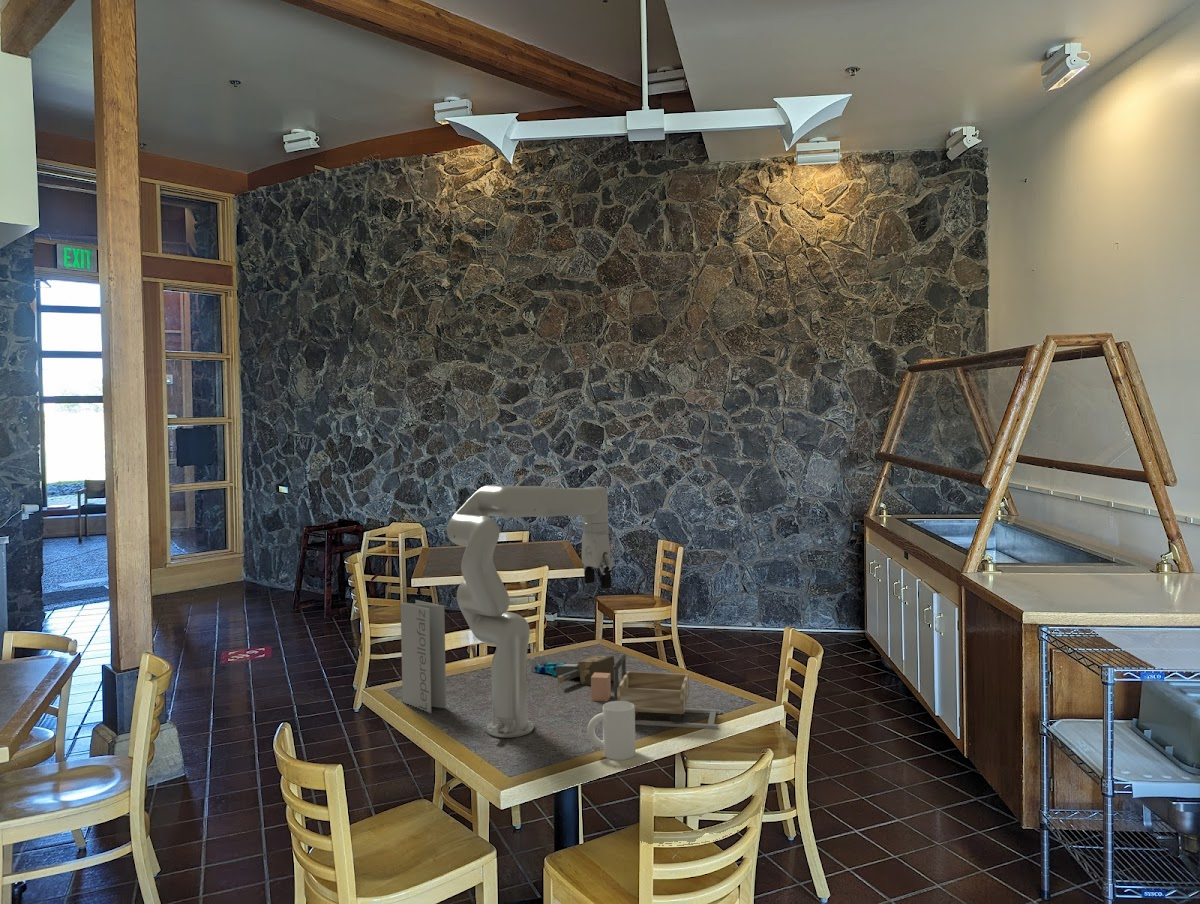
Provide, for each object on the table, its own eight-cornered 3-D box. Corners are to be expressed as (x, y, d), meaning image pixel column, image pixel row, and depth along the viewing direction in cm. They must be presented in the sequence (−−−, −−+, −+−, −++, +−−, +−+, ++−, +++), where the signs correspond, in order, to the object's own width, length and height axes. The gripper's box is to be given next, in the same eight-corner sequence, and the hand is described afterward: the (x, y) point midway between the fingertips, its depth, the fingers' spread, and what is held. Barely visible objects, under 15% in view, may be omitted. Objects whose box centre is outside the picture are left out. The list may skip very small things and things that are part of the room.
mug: (586, 748, 206) (586, 701, 206) (633, 746, 207) (633, 699, 207) (587, 761, 198) (587, 712, 198) (636, 759, 199) (636, 710, 198)
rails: (717, 729, 218) (717, 726, 218) (622, 723, 224) (622, 720, 223) (720, 712, 231) (720, 709, 231) (629, 707, 237) (629, 704, 237)
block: (607, 701, 243) (607, 677, 243) (591, 700, 244) (590, 677, 244) (610, 696, 248) (610, 673, 248) (594, 695, 249) (594, 672, 249)
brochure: (402, 702, 244) (400, 602, 244) (418, 698, 248) (416, 599, 248) (430, 713, 235) (428, 609, 234) (446, 708, 239) (444, 606, 238)
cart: (683, 724, 219) (682, 669, 219) (612, 721, 223) (611, 666, 222) (689, 705, 235) (688, 653, 234) (622, 702, 238) (621, 651, 238)
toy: (560, 648, 288) (629, 648, 270) (563, 670, 287) (632, 671, 269) (509, 666, 267) (579, 667, 249) (512, 689, 266) (583, 692, 248)
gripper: (571, 526, 248) (572, 582, 249) (599, 532, 233) (601, 591, 234) (592, 524, 252) (594, 579, 253) (621, 529, 237) (623, 588, 238)
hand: (597, 585), depth 243 cm, fingers open, 9 cm apart
